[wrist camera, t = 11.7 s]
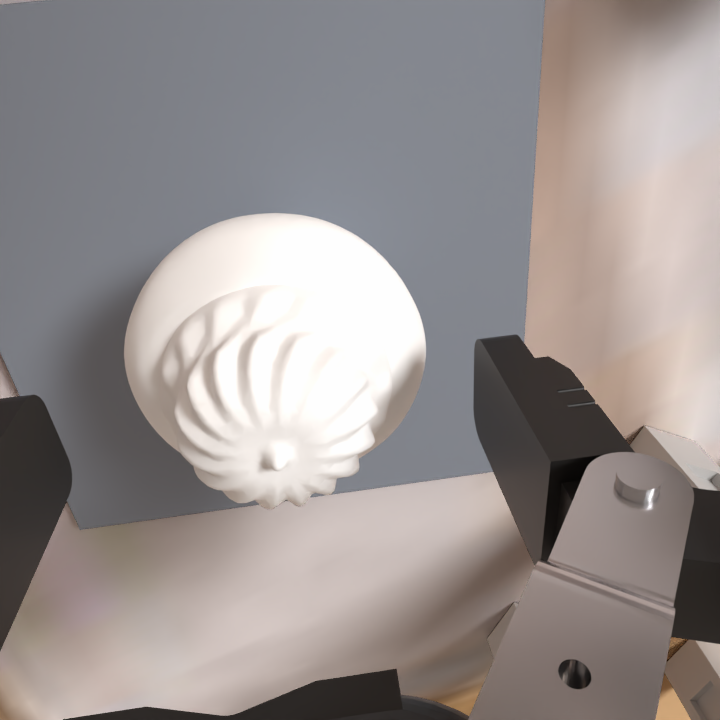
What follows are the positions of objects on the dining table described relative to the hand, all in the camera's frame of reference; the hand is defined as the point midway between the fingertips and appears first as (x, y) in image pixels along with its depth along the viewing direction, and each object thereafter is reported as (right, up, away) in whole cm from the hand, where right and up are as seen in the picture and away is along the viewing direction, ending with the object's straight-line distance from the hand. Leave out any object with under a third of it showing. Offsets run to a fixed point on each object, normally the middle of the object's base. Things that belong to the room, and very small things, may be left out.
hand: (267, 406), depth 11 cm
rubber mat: (-1, +3, +5) cm, 6 cm away
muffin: (0, +3, +4) cm, 5 cm away
